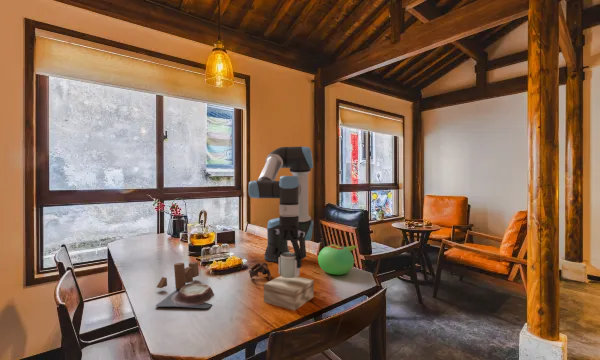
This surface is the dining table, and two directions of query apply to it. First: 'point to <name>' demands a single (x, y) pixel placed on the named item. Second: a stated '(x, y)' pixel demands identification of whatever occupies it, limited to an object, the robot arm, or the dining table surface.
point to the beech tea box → (288, 292)
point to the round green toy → (336, 259)
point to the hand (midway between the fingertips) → (288, 274)
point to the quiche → (189, 297)
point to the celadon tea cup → (288, 265)
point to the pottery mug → (260, 270)
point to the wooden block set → (182, 275)
